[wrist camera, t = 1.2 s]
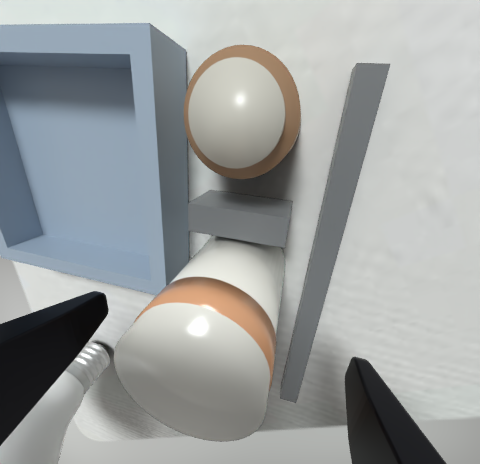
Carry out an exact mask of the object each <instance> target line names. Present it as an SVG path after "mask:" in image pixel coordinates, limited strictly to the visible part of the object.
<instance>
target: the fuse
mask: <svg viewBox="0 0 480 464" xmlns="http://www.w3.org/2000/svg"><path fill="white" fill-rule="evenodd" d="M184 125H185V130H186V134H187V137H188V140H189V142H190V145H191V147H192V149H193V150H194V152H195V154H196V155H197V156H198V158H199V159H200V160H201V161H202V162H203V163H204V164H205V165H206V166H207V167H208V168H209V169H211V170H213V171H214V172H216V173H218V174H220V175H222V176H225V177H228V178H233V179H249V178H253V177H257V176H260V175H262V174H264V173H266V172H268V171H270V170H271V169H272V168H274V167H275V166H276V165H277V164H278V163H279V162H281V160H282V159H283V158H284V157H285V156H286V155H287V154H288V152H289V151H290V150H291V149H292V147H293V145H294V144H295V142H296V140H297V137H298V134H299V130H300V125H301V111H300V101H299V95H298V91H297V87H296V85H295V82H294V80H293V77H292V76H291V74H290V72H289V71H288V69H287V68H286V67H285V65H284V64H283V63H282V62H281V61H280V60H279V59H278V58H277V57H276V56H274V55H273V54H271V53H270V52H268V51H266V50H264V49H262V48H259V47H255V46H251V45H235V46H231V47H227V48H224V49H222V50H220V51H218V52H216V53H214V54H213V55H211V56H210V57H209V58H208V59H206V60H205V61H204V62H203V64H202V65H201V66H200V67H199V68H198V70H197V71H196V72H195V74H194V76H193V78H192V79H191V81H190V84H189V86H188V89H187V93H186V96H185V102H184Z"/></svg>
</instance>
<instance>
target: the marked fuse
mask: <svg viewBox="0 0 480 464" xmlns="http://www.w3.org/2000/svg"><path fill="white" fill-rule="evenodd" d="M284 272H285V258H284V254H283V251H282V249H281V247H277V246H271V245H265V244H260V243H254V242H248V241H243V240H237V239H231V238H226V237H220V236H214V235H213V236H212V237H211V238H210V239H209V240H208V242H207V243H206V244H205V245H204V246H203V247H202V248H201V249H200V250H199V252H198V253H197V254H196V255H195V256H194V257H193V258H192V259H191V260H190V262H189V263H188V264H187V265H186V266H185V267H184V268H183V269H182V270H181V272H180V273H179V274H178V275H177V276H176V277H175V278H174V279H173V280H172V282H171V283H170V284H168V285H167V286H166V287H165V288H163V289H162V290H161V291H160V293H159V294H158V295H157V296H156V297H155V298H154V299H153V300H152V301H151V302H150V304H149V305H148V306H147V307H146V308H145V309H144V310H143V311H142V312H141V313H140V315H139V316H138V317H137V318H136V320H135V322H134V324H133V325H132V326H131V327H130V328H129V329H128V330H127V331H126V333H125V334H124V335H123V336H122V337H121V338H120V340H119V341H118V343H117V345H116V347H115V351H114V365H115V369H116V373H117V375H118V378H119V380H120V382H121V383H122V385H123V387H124V388H125V390H126V391H127V393H128V394H129V395H130V396H131V398H132V399H133V400H134V401H135V402H136V403H137V404H138V405H139V406H140V407H141V408H142V409H143V410H145V411H146V412H147V413H148V414H150V415H151V416H152V417H154V418H155V419H157V420H158V421H160V422H161V423H163V424H165V425H166V426H168V427H170V428H172V429H174V430H176V431H178V432H181V433H183V434H186V435H189V436H192V437H195V438H199V439H203V440H209V441H220V442H222V441H234V440H239V439H242V438H245V437H247V436H250V435H251V434H253V433H254V432H256V431H257V429H258V428H259V427H260V426H261V424H262V423H263V421H264V418H265V415H266V408H267V401H268V393H269V391H270V388H271V384H272V376H273V368H274V360H275V352H276V332H277V325H278V317H279V310H280V302H281V294H282V287H283V279H284Z"/></svg>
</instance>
